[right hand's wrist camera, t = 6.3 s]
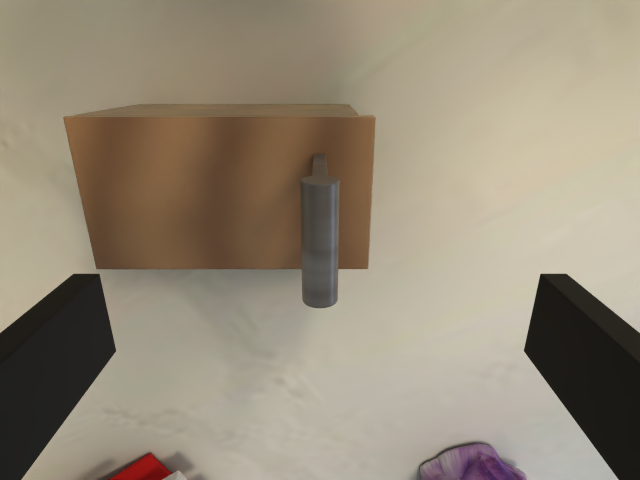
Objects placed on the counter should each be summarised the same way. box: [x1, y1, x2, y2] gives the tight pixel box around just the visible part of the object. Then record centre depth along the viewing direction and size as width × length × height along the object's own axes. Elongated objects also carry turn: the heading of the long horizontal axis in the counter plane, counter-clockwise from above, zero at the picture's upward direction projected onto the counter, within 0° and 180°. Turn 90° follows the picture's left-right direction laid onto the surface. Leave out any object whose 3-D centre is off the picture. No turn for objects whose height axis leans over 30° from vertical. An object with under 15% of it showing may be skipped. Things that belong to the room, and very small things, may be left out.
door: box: [64, 115, 375, 308], centre depth 21 cm, size 17×9×9 cm, turn 90°
